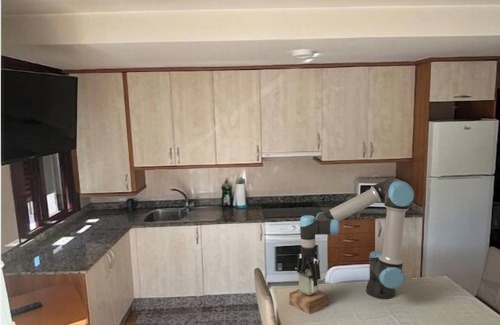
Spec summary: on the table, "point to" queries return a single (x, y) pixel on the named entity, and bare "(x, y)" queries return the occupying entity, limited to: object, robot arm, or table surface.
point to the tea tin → (306, 282)
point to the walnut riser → (308, 301)
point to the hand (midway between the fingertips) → (308, 289)
